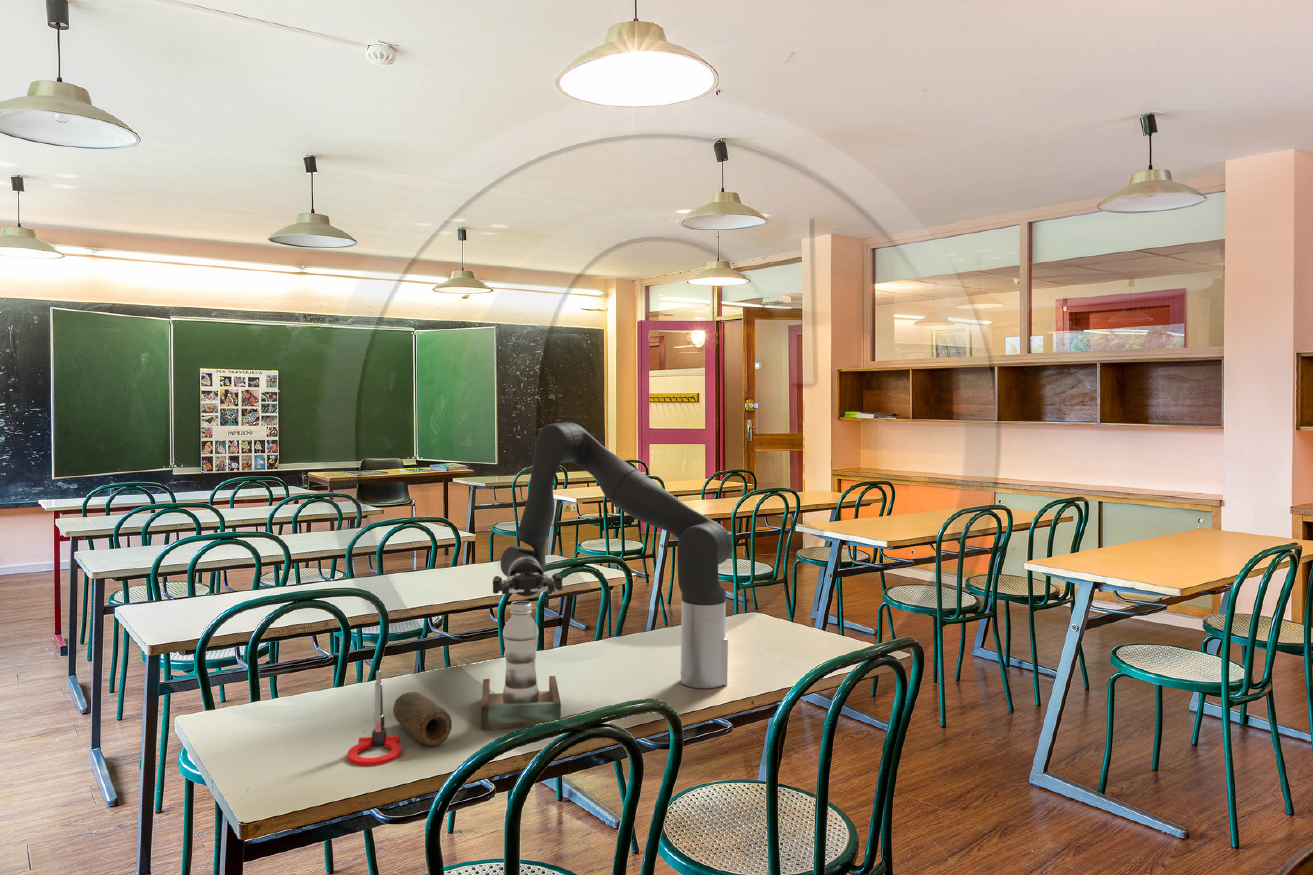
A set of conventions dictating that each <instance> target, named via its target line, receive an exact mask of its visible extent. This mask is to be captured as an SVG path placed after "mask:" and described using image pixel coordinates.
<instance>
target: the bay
mask: <svg viewBox="0 0 1313 875" xmlns="http://www.w3.org/2000/svg"><path fill="white" fill-rule="evenodd" d="M548 679H549V680H548V690H545V691H539V699H538V702H535V703H515V704H504V702H503V692H500V693H490V680H491V679H490V678H483V680H482V695H481V718H480V719H481V730H483V731H486V730H498V729H497V728H505V729H519V728H520V729H522V728H532V727H531V726H534V725H536V724H539V723H545V722H549V721H555V720H560V719H561V720H562V717H561V716H562V715H561V714H562V702H561V696H560V693H559V692H560V691H559V689H558V681H557V678H556V675H549V676H548ZM494 728H495V729H494ZM481 730H480V731H481Z"/></svg>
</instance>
